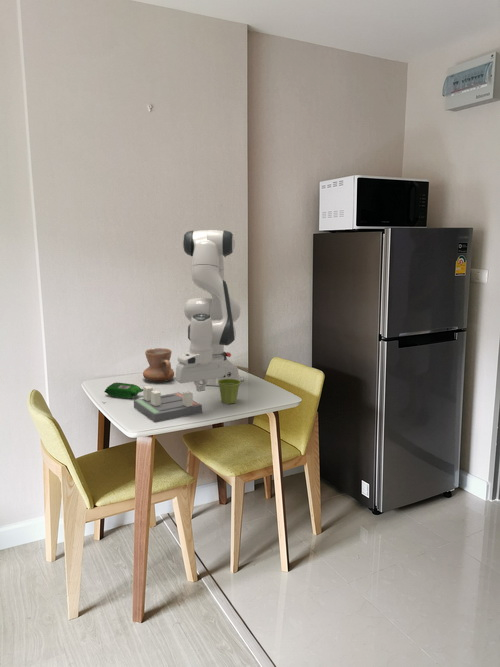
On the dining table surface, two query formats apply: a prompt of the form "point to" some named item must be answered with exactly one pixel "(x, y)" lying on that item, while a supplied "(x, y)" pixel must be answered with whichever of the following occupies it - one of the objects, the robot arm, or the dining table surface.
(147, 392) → the inner breaker
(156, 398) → the block
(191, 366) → the robot arm
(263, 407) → the dining table surface
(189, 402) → the block
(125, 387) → the snack package
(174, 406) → the panel
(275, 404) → the dining table surface
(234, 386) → the plant pot
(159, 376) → the ceramic jug
